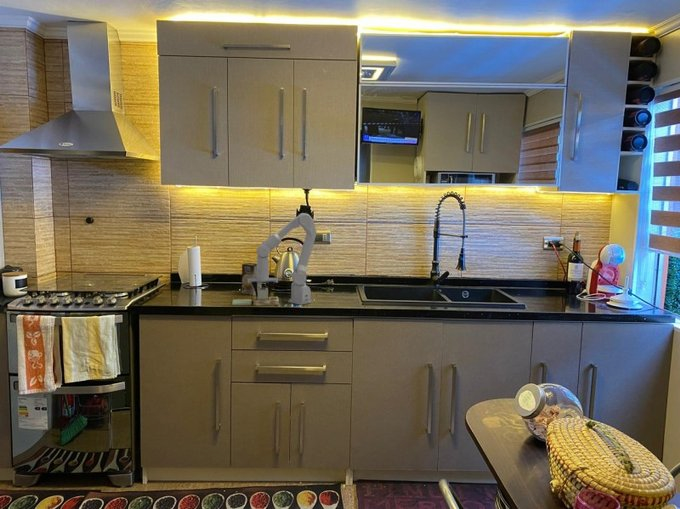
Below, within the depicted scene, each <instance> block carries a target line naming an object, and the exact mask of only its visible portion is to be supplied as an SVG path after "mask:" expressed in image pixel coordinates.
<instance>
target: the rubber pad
mask: <svg viewBox="0 0 680 509" xmlns="http://www.w3.org/2000/svg"><path fill="white" fill-rule="evenodd" d="M231 305H232V306H251V305H252V299H251V298H250V299H249V298H248V299H246V298H245V299H243V298H242V299H232V303H231Z"/></svg>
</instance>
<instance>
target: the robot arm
mask: <svg viewBox="0 0 680 509" xmlns="http://www.w3.org/2000/svg"><path fill="white" fill-rule="evenodd" d="M314 221H315V220H314V219H313V218H312V216H311V215H310V214H309V213H307V212H305V213H304V212H301V213H299V214H298V215H297V216H295V217H294V218H293V219H291V220H290V221H289V222H288V223H287V224H286V225H285V226H284V227H282V229H280V230H279V231H278V232H277V233H272V234H269V235H268V237H267V239H266V240H264V241H262V242H261V244H260V245H258V246H257V248H256V254H257V256H256V259H257V260H256V264H257V278H248V283H252V285H253V287H254V290H255V293H256V295H255V297H256V298H258V293H257V283H261V284H262V283H267V288H268V297H271V296H270V294H271V291H272V288H273V287H274V284H275V283H279V278H278V277H269V276H270V275H269V273H270V272H269V271H270V270H269V269H270V266H269V265H270V264H269V263H270V262H269V255H270V252H272V251H273V250H275V249H276V248H277V247H278V246H279V245H280V244H281V243H282V239H283V238H284V237H285V236H286V235H288V234H289V233H290V232H291V231H292V230H294V229H296V228H300V227H302V228H303V230H304V232H305V237H304V240H303V245H302V248H301V252H300V254H299V257H298V261H297V263H296V266H295V268H294V270H293V271H292V273H291V279H292V283H291V285H290V286H291V291H290V292H291V293H290V294H291V295H290V300H287V303H291V304H296V305H300V306H301V305H305V304H311V303H312V302H313V301H312V300H311V299H312V298H311V295H312V293H311V292H312V291H311V288H310V287H309V286H308V285H307V282H306V280H307V276H306V273H307V270H308V269H307V267H308V264H309V260H310V258H311V254H312V251H313V247H314V243H315V242H316V236H317V234H318V233H317V229H316V226H315V222H314Z"/></svg>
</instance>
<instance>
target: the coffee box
mask: <svg viewBox="0 0 680 509" xmlns="http://www.w3.org/2000/svg"><path fill="white" fill-rule="evenodd" d="M248 278H257V263H254V262H253V263H252V262H247V263H241V293H242V295H243V294H244V295H248V294H249V296H256V293H255V290H254V287H253V285H252V283H248ZM258 288H262V283H257V293H258Z"/></svg>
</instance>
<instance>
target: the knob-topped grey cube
mask: <svg viewBox="0 0 680 509" xmlns="http://www.w3.org/2000/svg"><path fill="white" fill-rule="evenodd" d="M258 300H268V287H261V288H258Z"/></svg>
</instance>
